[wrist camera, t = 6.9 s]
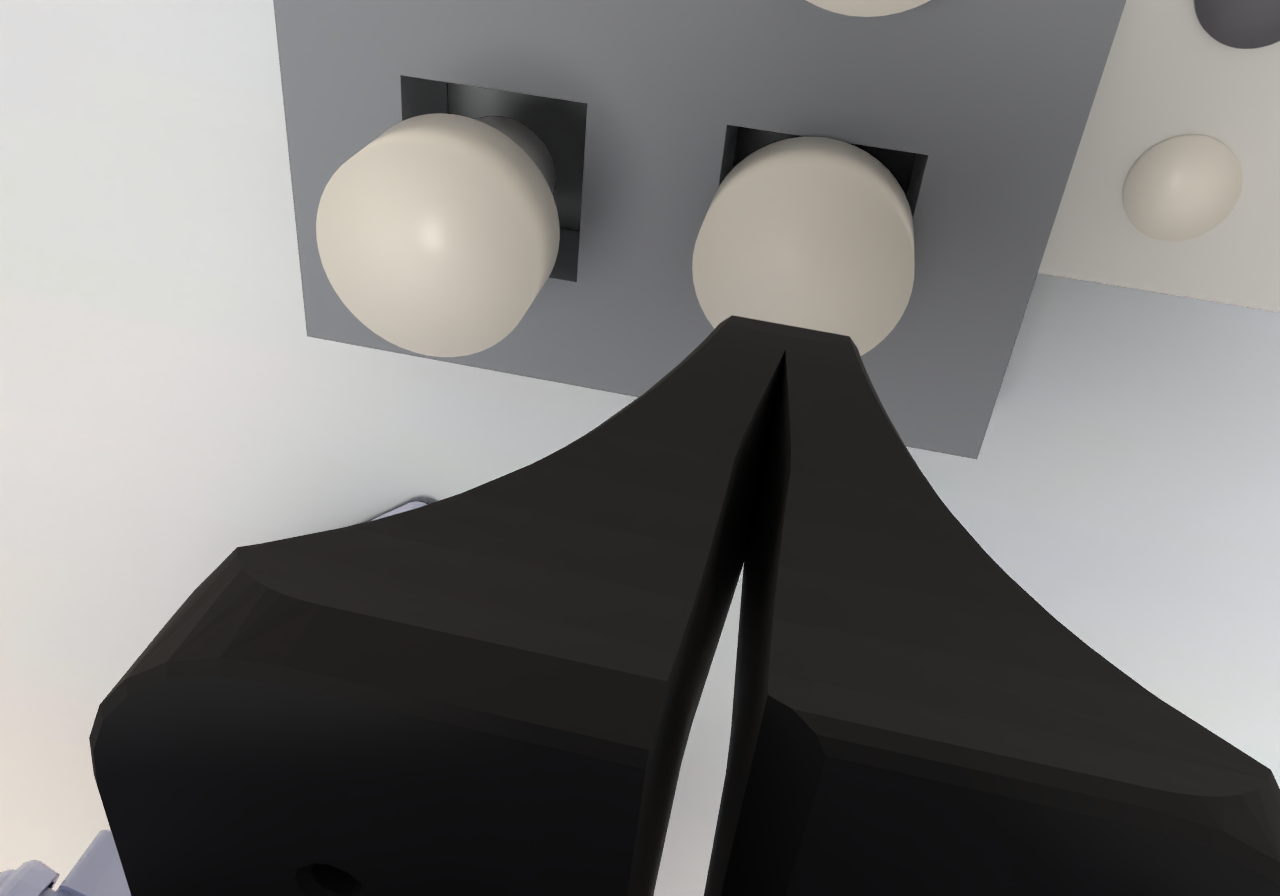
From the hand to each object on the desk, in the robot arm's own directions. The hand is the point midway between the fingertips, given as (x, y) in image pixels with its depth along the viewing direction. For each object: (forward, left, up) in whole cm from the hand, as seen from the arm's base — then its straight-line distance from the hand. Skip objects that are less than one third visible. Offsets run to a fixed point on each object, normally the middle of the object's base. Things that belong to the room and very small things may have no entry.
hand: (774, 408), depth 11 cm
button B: (-1, +1, -9) cm, 9 cm away
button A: (+3, +5, -8) cm, 10 cm away
